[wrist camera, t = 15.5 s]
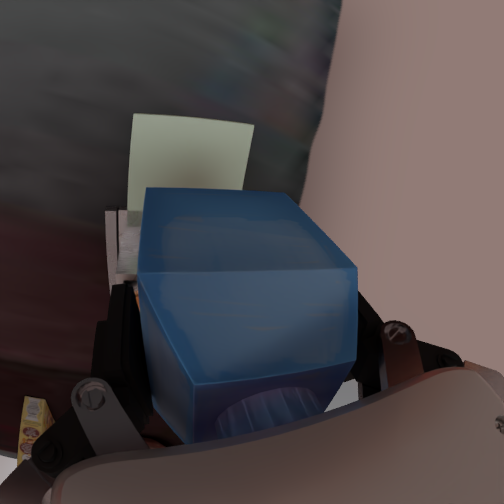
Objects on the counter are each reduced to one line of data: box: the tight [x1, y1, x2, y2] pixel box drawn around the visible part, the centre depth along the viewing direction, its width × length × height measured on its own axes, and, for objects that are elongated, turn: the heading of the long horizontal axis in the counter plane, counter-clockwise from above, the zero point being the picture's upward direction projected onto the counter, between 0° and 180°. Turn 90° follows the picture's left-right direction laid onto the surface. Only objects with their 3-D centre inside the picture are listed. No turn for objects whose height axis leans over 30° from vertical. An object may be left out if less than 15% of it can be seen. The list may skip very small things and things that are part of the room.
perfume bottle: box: [137, 187, 358, 445], centre depth 10 cm, size 6×6×12 cm
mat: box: [127, 113, 254, 227], centre depth 25 cm, size 10×10×1 cm
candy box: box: [17, 396, 55, 467], centre depth 30 cm, size 9×4×15 cm, turn 164°
